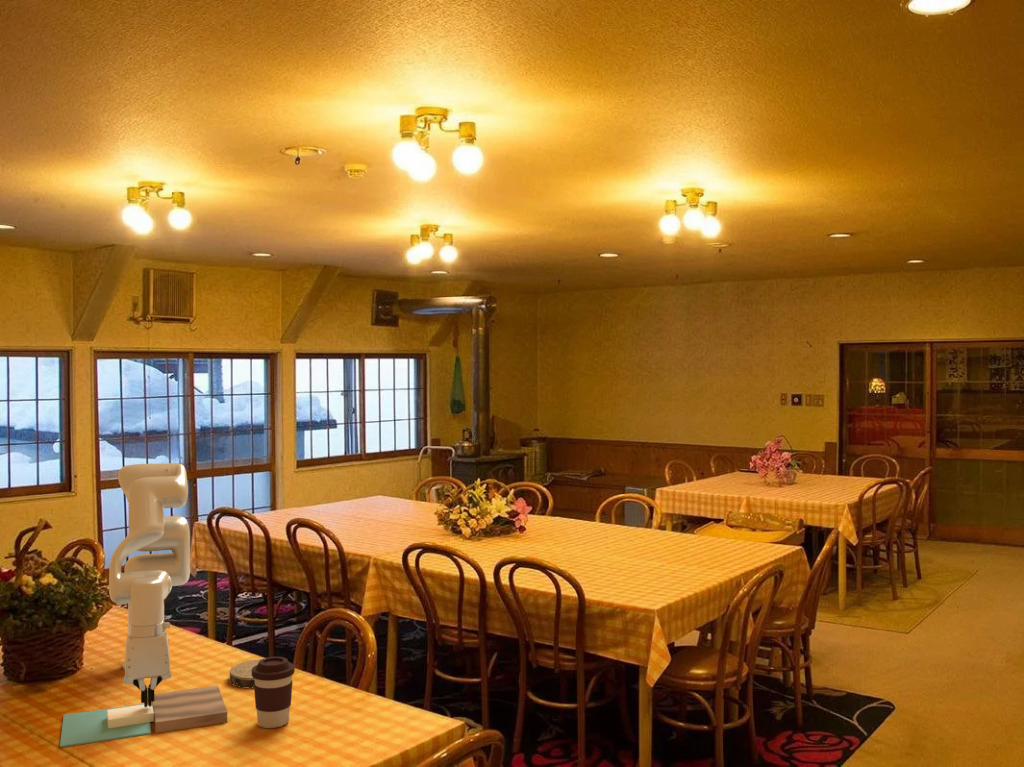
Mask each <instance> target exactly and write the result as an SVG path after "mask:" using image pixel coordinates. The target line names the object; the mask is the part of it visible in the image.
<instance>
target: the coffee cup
mask: <svg viewBox="0 0 1024 767" xmlns="http://www.w3.org/2000/svg"><path fill="white" fill-rule="evenodd" d="M261 659H262V660H260V661H259V662H258V665H256V666H254V667H253V668H252V677H253V678H254V679H255V683H254V688H253V691H254V703H255V710H256V716H257V718H256V719H257V720H256V721H257V725H258V726H259V727H260V728H264V729H277V727H278V728H281V727H284V726H286V725H287V724H288V723H289V722H290V710H291V705H292V693H293V675H294V674H295V671H296V670H295V667H296V666H295V664H294V663H292V662H290V661H289V660H288V658H286V657H284V656H269V657H265V658H261ZM285 724H286V725H285ZM283 725H284V726H283Z"/></svg>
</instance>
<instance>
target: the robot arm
mask: <svg viewBox="0 0 1024 767" xmlns="http://www.w3.org/2000/svg"><path fill="white" fill-rule="evenodd" d="M117 476H118V485H119V486H120V488H121V490H122V493H123V494H124V495H125V498H126V499H127V503H128V533H127V535H126V537H125V538H124V539H123V540H121V541H120V543H119V544H118V545H117V547H116V548H115V550H114V551H113V554H112V556H111V559H110V561H109V562H110V563H109V566H108V567H109V569H108V571H109V573H108V576H109V577H108V590H109V591H108V593H109V598H110V600H111V601H112V602H114V604H119V605H121V604H122V605H123V604H127V608H128V609H127V610H128V611H127V616H128V617H127V620H128V621H127V624H128V625H127V627H128V630H127V631H128V632H127V634H128V635H127V637H126V640H125V649H124V650H125V651H124V662H122V669H123V670H124V676H123V684H124V685H131V686H132V685H133V686H135V687H136V688H137V689H139V691H140V704H144V707H147V706H149V707H151V706H152V702H153V701H154V694H155V690H156V688H157V687H158V686H159V685H160V684H161V682H163V681H166V680H169V679H171V678H172V673H171V658H170V657H171V656H170V655H171V654H170V644H169V637H168V632H167V631H166V630H167V629H171V622H168V621H165V602H164V601H165V599H167V597H168V596H169V594H170V593H171V591H172V587H176V586H182V585H185V584H187V583H188V581H189V579H190V575H191V531H190V525H189V522H188V520H187V518H185V517H183V516H180V515H174V516H173V515H172V516H171V515H170V516H164V515H165V514H164V509H173V508H174V509H175V508H183V507H184V506H186V504H187V501H188V496H189V485H188V484H189V483H188V475H187V470H186V468H185V466H184V465H183V464H182V463H179V462H169V463H168V462H166V463H165V462H164V463H163V462H162V463H138V464H137V463H135V464H128V465H124V466H122V467H121V468H120V469H119V470H118V475H117ZM158 551H172V552H164V553H163V552H160V553H159V552H158ZM135 552H157V553H144V554H143V553H142V554H139V555H134V556H132V557H130V558H129V559H126V558H128V557H129V556H130V555H132V554H133V553H135ZM125 560H127V561H125ZM124 561H125V562H126V563H125V564H124ZM123 564H124V569H123V570H124V572H122V565H123ZM149 678H150V682H149V684H148V686H147V685H146V684H145V679H149Z"/></svg>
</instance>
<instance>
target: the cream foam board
mask: <svg viewBox="0 0 1024 767" xmlns="http://www.w3.org/2000/svg"><path fill="white" fill-rule="evenodd" d="M136 705H137V706H131V705H129V706H130V707H124V706H122V707H123V708H117V709H110V710H107V720H108V728H115V727H121V726H127V725H134V724H140V723H146V722H150V723H152V722H153V723H154V711H153V707H152V706H151V707H149V706H147V707H144V705H138V704H136Z"/></svg>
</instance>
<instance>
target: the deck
mask: <svg viewBox="0 0 1024 767" xmlns="http://www.w3.org/2000/svg"><path fill="white" fill-rule="evenodd" d="M222 695H223V694H222V692H221V690H220V688H219V685H218V684H217V685H212V686H211V685H210V686H204V687H203V686H202V687H195V688H188V689H182V690H174V691H173V690H172V691H166V692H159V693H154V701H153V702H152V707H153V711H154V721H153V723H154V729H155V734H158V733H165V732H166V733H167V732H173V731H179V730H185V729H192V728H193V729H194V728H200V727H204V726H211V725H212V724H213V725H217V724H218V723H219V724H224V722H226V723H228V710H227V707H226V704H225V702H224V698H223V696H222ZM219 724H218V725H219Z"/></svg>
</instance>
